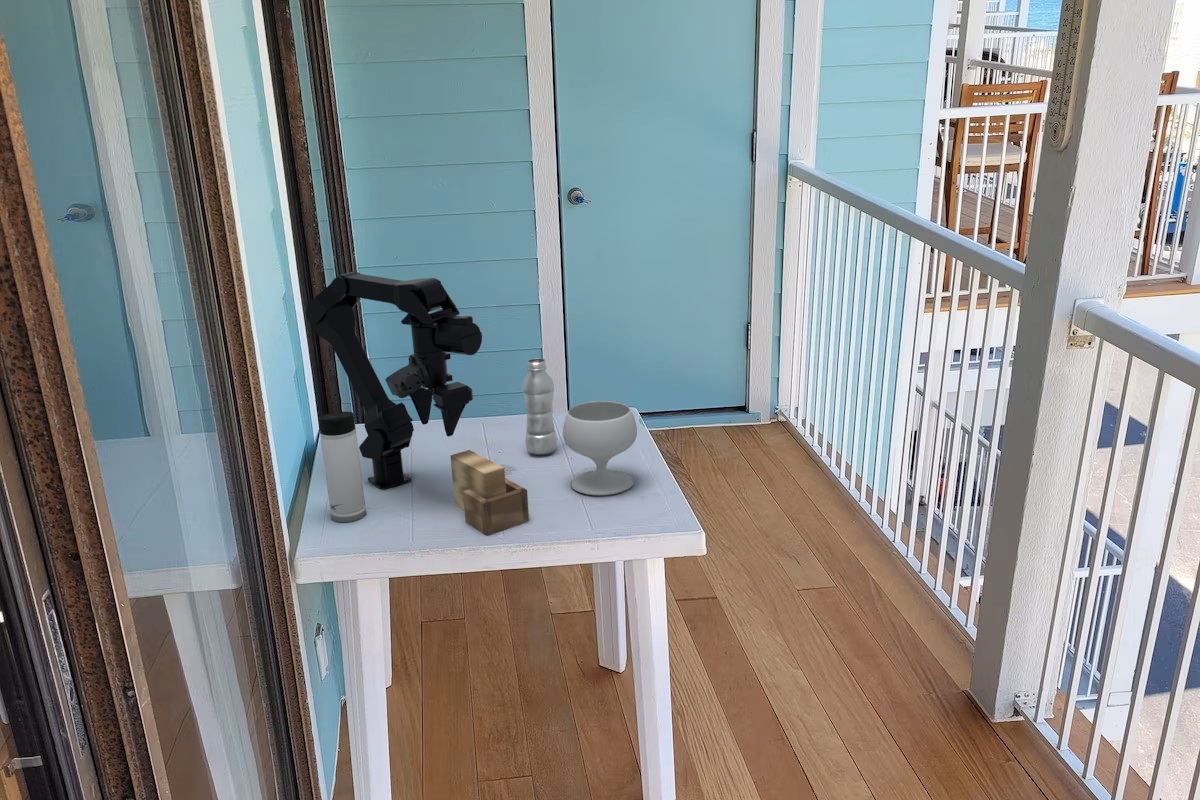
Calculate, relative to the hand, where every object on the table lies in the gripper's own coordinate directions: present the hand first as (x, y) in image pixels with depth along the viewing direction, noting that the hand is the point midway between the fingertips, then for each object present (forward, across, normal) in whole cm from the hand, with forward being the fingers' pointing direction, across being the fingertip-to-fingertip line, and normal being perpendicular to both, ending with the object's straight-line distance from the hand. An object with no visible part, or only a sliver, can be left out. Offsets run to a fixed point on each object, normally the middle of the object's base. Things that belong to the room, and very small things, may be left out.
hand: (437, 429), depth 186 cm
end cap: (+13, +18, +1) cm, 22 cm away
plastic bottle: (+13, -4, +26) cm, 30 cm away
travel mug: (+13, -3, -18) cm, 22 cm away
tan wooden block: (+13, +12, +1) cm, 18 cm away
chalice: (+13, +18, +25) cm, 33 cm away
